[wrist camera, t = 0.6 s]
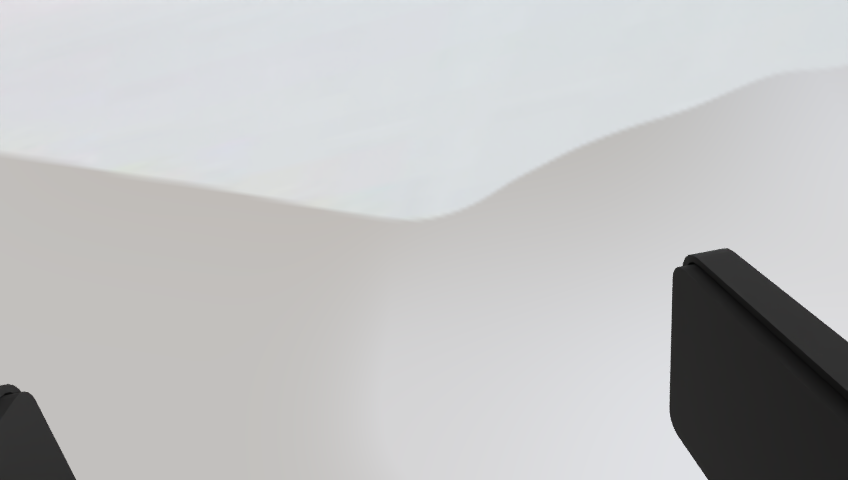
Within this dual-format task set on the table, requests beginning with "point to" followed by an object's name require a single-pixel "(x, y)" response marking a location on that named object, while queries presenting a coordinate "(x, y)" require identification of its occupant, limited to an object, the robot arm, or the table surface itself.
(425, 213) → the table surface
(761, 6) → the table surface
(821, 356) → the robot arm
